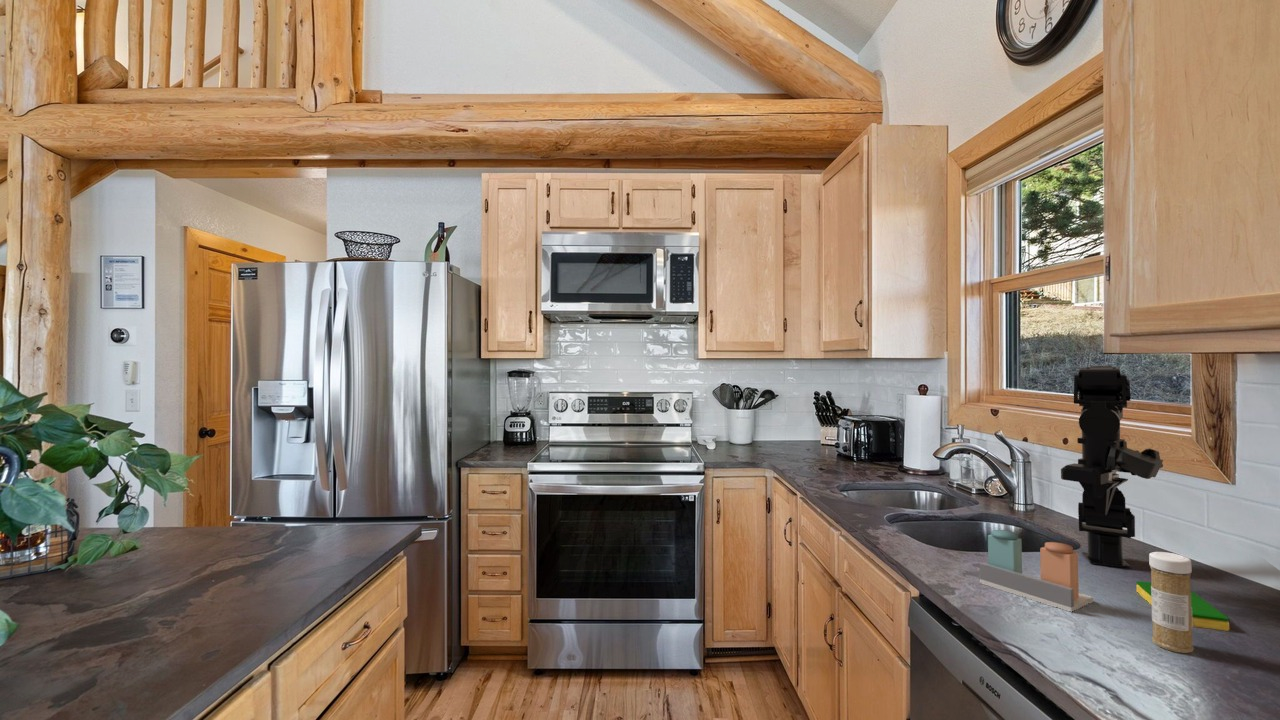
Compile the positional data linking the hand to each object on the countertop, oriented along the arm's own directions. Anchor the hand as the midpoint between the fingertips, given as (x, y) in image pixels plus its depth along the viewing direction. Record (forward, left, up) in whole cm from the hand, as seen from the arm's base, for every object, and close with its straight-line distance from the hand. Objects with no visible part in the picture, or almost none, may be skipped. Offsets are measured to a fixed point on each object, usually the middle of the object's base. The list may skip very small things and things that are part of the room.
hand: (1102, 514), depth 106 cm
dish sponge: (+9, +8, -14) cm, 18 cm away
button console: (+10, -13, -13) cm, 21 cm away
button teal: (+9, -17, -12) cm, 23 cm away
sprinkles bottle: (+26, +1, -13) cm, 29 cm away
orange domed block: (+14, -10, -12) cm, 21 cm away
